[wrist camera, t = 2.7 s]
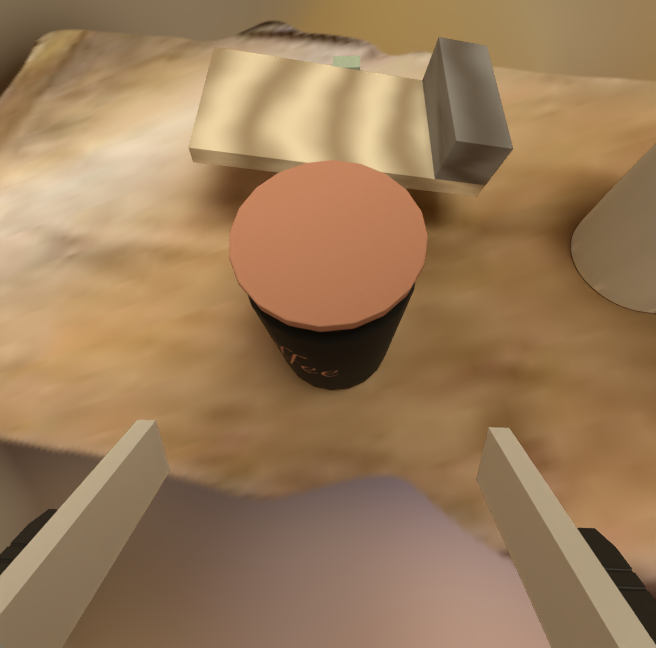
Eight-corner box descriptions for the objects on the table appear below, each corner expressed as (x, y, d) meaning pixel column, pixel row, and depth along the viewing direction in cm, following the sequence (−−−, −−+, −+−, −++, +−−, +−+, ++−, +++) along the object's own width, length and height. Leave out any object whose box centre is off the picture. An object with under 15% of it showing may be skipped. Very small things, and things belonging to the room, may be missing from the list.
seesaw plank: (450, 110, 39) (485, 39, 32) (468, 216, 33) (515, 157, 26) (221, 75, 36) (207, -11, 29) (196, 185, 30) (171, 109, 23)
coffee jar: (266, 327, 35) (195, 212, 18) (349, 279, 36) (354, 133, 20) (318, 413, 31) (289, 370, 14) (406, 355, 33) (473, 256, 16)
